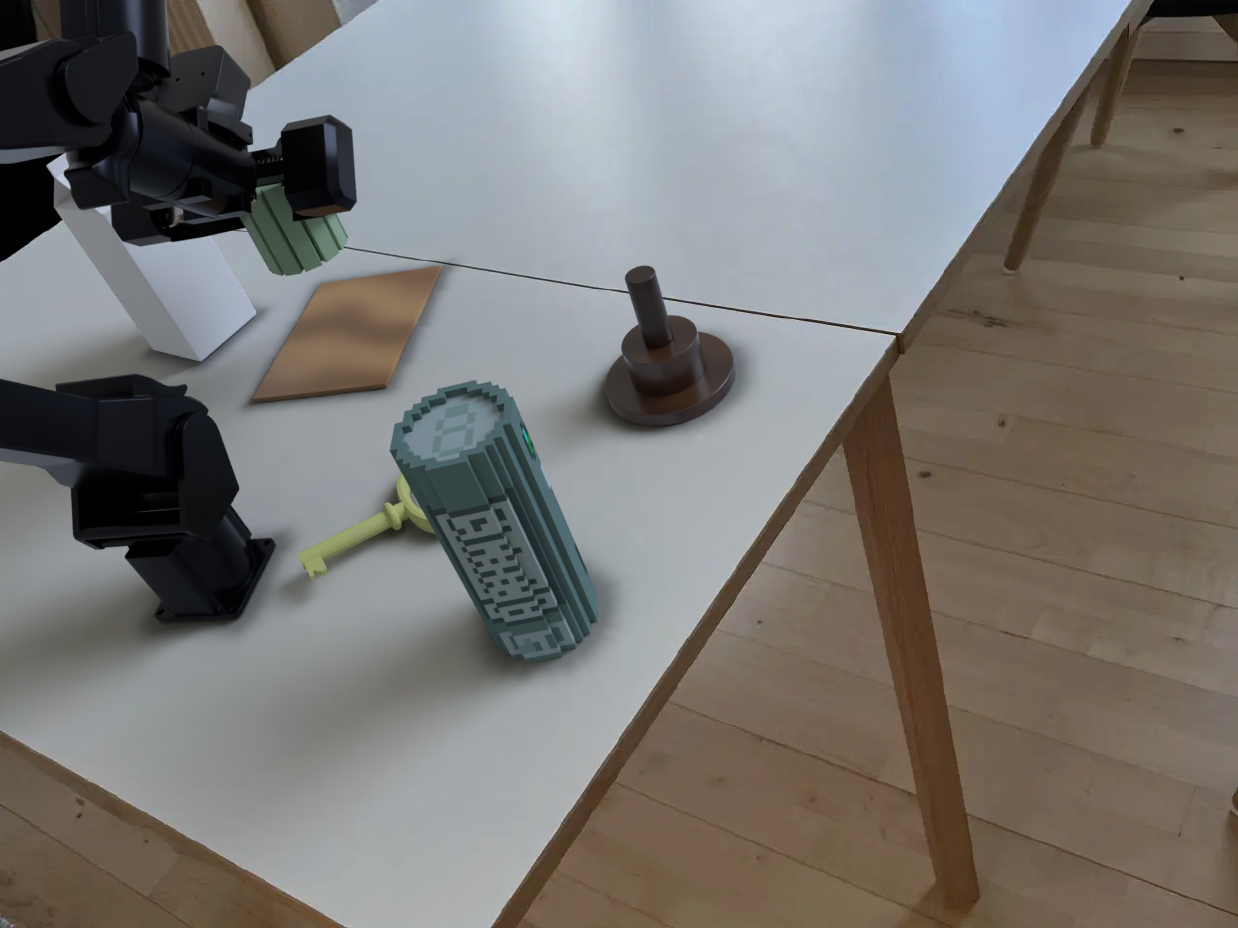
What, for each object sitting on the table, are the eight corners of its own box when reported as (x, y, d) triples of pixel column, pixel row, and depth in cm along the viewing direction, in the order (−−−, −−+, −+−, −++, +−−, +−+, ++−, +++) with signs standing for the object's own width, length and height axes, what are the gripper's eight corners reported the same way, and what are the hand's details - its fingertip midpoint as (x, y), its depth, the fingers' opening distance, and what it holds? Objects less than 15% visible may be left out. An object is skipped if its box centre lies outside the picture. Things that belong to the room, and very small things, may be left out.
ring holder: (730, 419, 69) (702, 307, 63) (598, 432, 72) (559, 325, 66) (740, 334, 75) (715, 225, 70) (619, 348, 78) (584, 244, 72)
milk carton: (258, 314, 96) (142, 120, 84) (201, 364, 92) (71, 168, 80) (210, 305, 100) (92, 118, 88) (154, 352, 96) (22, 163, 84)
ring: (364, 234, 84) (325, 154, 79) (301, 282, 81) (257, 200, 76) (314, 223, 88) (274, 146, 83) (253, 268, 85) (208, 190, 80)
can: (596, 567, 63) (514, 370, 53) (597, 649, 58) (508, 451, 48) (498, 586, 64) (399, 397, 54) (492, 669, 59) (383, 479, 49)
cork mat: (387, 387, 82) (384, 383, 82) (253, 403, 86) (251, 399, 85) (442, 269, 93) (440, 265, 93) (322, 286, 97) (320, 283, 97)
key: (299, 580, 69) (284, 558, 67) (435, 459, 74) (423, 437, 73) (365, 624, 64) (351, 602, 63) (504, 492, 70) (493, 469, 68)
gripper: (275, -1, 66) (398, 88, 81) (35, 57, 71) (192, 130, 86) (287, 177, 66) (408, 233, 81) (44, 222, 71) (200, 266, 86)
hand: (298, 211), depth 83 cm, fingers closed on ring, 6 cm apart
